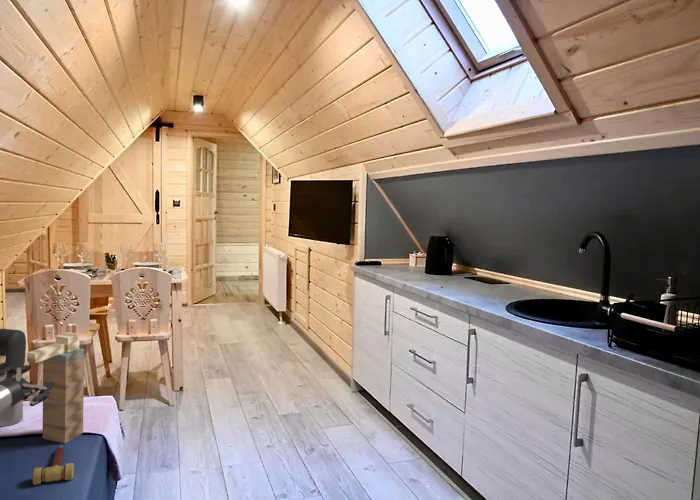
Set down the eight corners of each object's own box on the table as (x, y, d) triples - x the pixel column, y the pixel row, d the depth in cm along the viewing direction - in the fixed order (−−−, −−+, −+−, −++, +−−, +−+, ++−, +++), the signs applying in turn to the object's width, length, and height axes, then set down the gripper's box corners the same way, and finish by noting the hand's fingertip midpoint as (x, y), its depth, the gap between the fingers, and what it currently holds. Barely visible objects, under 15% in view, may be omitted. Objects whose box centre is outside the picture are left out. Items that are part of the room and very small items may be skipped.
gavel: (43, 442, 164) (78, 438, 168) (43, 455, 164) (78, 451, 168) (32, 472, 145) (72, 467, 149) (32, 488, 145) (72, 482, 149)
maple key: (37, 363, 158) (37, 348, 157) (24, 361, 159) (24, 345, 158) (79, 348, 174) (79, 334, 174) (67, 346, 175) (67, 332, 175)
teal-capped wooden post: (64, 443, 169) (66, 356, 166) (42, 438, 172) (43, 352, 168) (82, 432, 177) (84, 349, 174) (61, 428, 179) (62, 345, 176)
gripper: (-29, 392, 140) (16, 371, 156) (12, 423, 139) (53, 399, 155) (-17, 372, 138) (27, 352, 154) (25, 403, 138) (65, 380, 154)
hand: (40, 375), depth 155 cm, fingers open, 8 cm apart
